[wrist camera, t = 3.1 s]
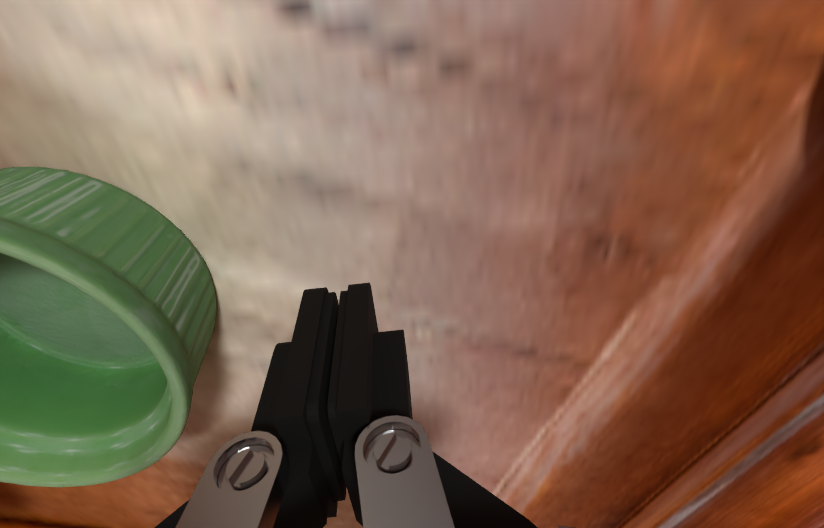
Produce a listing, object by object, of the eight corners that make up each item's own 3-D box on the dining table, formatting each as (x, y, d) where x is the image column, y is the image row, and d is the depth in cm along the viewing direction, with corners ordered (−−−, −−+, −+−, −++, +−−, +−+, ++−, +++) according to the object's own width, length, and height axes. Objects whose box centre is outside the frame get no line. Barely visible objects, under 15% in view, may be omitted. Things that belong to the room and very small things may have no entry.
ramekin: (227, 393, 17) (182, 505, 14) (-33, 351, 16) (-163, 466, 12) (249, 192, 13) (190, 278, 9) (-115, 102, 11) (-368, 163, 7)
